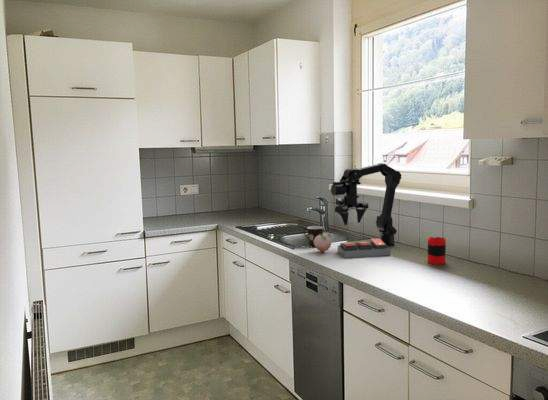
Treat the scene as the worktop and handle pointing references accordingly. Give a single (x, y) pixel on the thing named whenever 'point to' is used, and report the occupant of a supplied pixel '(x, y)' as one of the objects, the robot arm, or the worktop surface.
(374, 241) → the rocker
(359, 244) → the middle rocker
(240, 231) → the worktop surface
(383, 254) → the power strip
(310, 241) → the coffee mug
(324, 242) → the decorative fruit
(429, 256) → the soda can
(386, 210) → the robot arm
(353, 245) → the rocker
